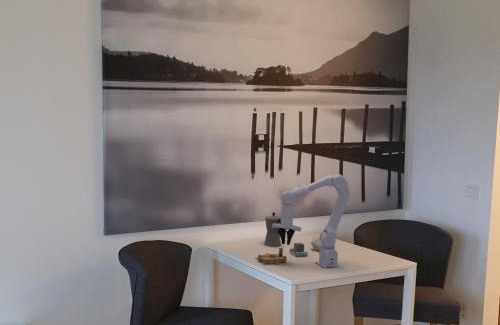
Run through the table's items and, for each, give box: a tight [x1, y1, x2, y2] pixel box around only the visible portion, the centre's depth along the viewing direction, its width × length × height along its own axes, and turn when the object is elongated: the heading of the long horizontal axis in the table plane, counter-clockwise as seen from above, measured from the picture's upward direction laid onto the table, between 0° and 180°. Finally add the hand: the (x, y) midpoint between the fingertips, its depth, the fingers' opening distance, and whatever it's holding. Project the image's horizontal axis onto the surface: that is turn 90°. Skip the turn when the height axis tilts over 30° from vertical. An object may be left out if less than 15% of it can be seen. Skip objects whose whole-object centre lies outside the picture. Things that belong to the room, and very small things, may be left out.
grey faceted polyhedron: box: [310, 234, 321, 252], centre depth 303 cm, size 8×9×10 cm
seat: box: [289, 247, 309, 258], centre depth 292 cm, size 9×6×2 cm, turn 19°
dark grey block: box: [293, 242, 305, 254], centre depth 291 cm, size 4×4×5 cm
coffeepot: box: [264, 212, 282, 248], centre depth 310 cm, size 15×9×18 cm, turn 29°
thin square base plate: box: [254, 256, 290, 266], centre depth 278 cm, size 14×13×1 cm
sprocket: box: [257, 247, 288, 264], centre depth 278 cm, size 14×14×6 cm
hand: (286, 244), depth 273 cm, fingers open, 2 cm apart
